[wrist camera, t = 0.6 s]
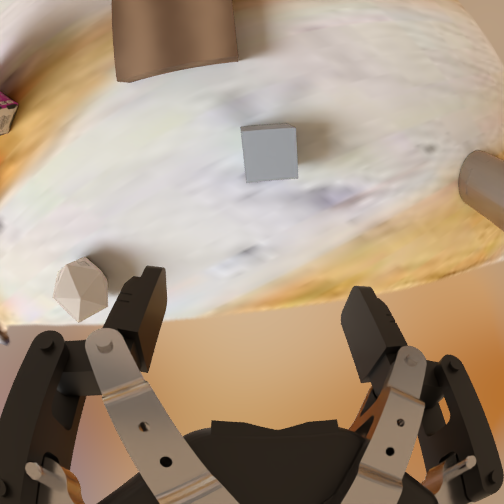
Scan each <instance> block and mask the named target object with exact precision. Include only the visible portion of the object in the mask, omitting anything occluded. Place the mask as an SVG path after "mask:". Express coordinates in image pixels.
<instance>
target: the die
mask: <svg viewBox="0 0 504 504" xmlns="http://www.w3.org/2000/svg"><path fill="white" fill-rule="evenodd" d="M53 298H54V299H55V300H56V301H57V302H58V303H59V304H60V305H61V306H62V307H63V308H64V309H65V310H66V311H67V312H68V313H69V314H70V315H71V316H72V317H73V318H74V319H75V320H76V321H77V322H78V323H79V322H81V321H83V320H85V319H86V318H88V317H90V316H92V315H94V314H95V313H97V312H99V311H101V310H103V309H104V308H106V307H108V280H107V279H106V277H105V276H104V274H103V273H102V271H101V270H100V269H99V268H98V267H96V266H95V265H94V264H93V263H92V262H91V261H89V260H88V259H87V258H86V257H84V258H81V259H79V260H76V261H74V262H71V263H69V264H66V265H65V266H64V267H63V268H62V269H61V270H59V271H58V273H57V278H56V283H55V288H54V294H53Z"/></svg>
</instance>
